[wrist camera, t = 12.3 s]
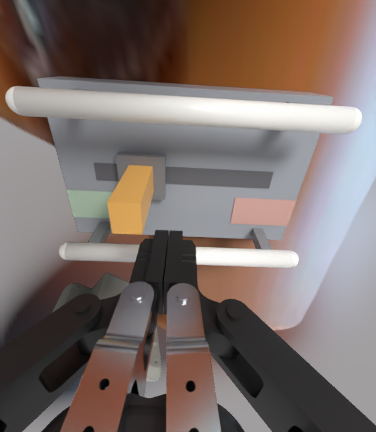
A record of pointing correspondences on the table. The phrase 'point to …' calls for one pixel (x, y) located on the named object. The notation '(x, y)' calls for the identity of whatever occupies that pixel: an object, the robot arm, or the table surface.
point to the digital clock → (107, 289)
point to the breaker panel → (185, 158)
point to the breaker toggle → (136, 190)
